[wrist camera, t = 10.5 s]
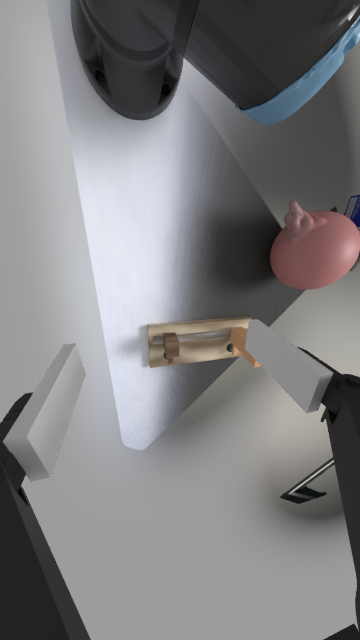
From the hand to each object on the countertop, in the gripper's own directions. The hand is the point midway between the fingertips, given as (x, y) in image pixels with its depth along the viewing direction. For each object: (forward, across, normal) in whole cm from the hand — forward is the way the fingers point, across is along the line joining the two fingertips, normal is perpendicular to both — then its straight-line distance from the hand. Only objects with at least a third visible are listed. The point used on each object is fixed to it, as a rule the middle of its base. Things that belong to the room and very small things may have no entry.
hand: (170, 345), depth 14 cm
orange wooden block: (+28, +22, -19) cm, 40 cm away
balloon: (+31, +33, +5) cm, 45 cm away
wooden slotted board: (+30, +12, -19) cm, 38 cm away
